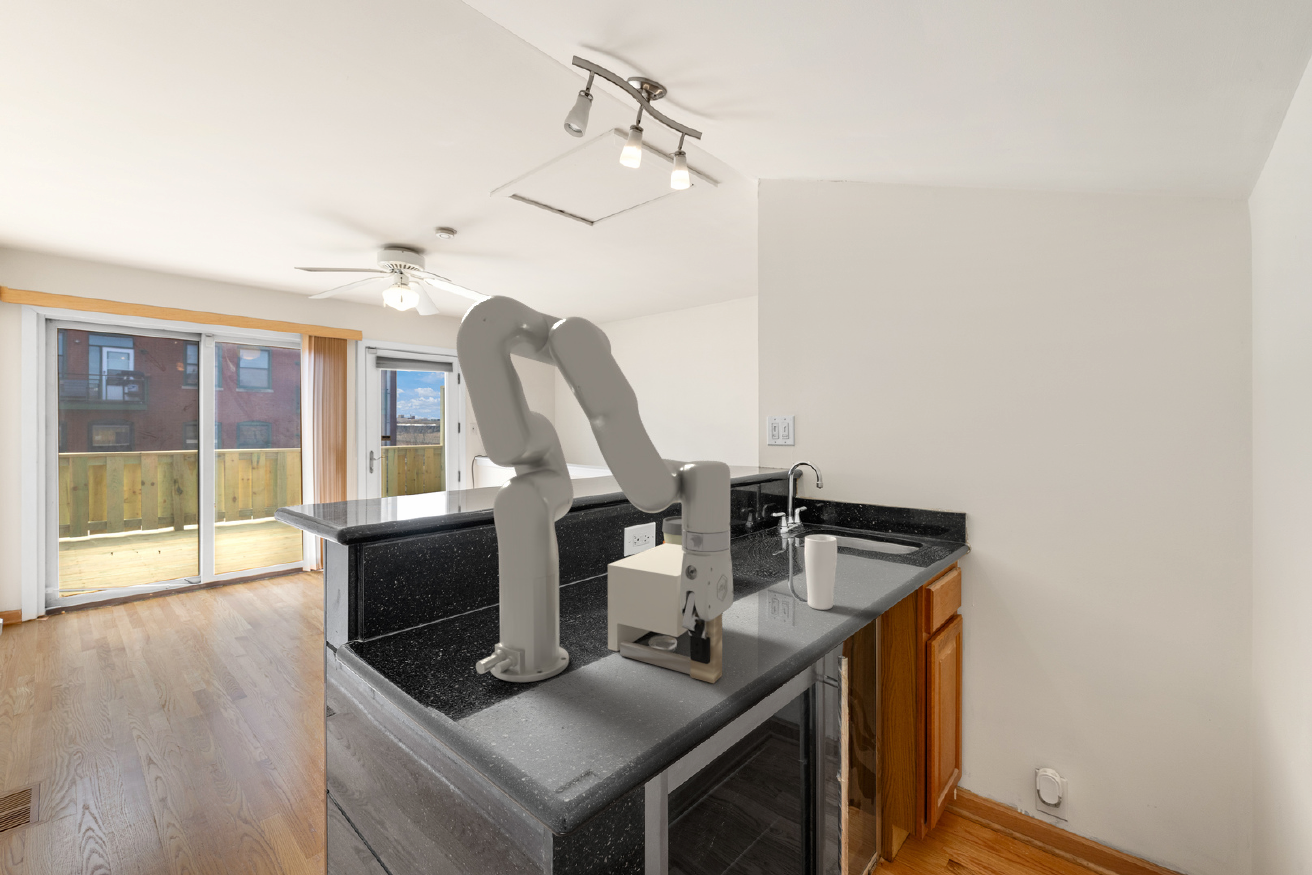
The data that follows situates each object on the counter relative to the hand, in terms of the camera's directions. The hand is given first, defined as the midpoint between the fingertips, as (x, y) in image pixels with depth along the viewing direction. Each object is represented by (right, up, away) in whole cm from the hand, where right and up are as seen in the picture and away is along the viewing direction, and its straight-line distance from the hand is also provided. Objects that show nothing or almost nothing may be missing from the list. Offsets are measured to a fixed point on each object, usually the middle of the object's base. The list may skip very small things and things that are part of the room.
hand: (705, 655), depth 86 cm
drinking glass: (+28, -3, +33) cm, 43 cm away
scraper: (-6, -3, +4) cm, 8 cm away
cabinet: (-5, -3, +16) cm, 17 cm away
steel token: (-7, -3, +11) cm, 14 cm away
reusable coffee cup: (0, -2, +55) cm, 55 cm away
